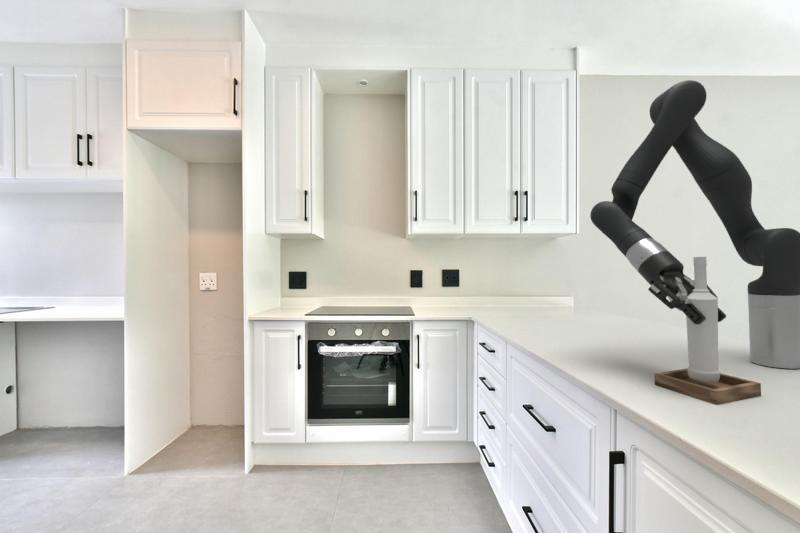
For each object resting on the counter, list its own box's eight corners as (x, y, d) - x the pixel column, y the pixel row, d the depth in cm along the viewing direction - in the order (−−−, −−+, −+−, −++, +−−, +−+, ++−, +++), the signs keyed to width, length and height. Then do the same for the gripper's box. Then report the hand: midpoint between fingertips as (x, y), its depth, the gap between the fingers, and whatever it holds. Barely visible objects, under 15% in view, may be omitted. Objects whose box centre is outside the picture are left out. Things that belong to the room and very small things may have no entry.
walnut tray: (695, 377, 82) (695, 367, 82) (761, 395, 70) (760, 383, 70) (654, 384, 78) (654, 373, 78) (716, 404, 67) (716, 391, 67)
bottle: (726, 382, 71) (722, 256, 71) (696, 382, 72) (692, 257, 72) (710, 374, 76) (706, 256, 76) (682, 374, 78) (678, 257, 77)
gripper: (639, 250, 79) (699, 311, 68) (687, 249, 83) (752, 306, 72) (619, 274, 85) (672, 335, 73) (665, 271, 89) (722, 328, 77)
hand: (711, 320), depth 73 cm, fingers closed on bottle, 5 cm apart
